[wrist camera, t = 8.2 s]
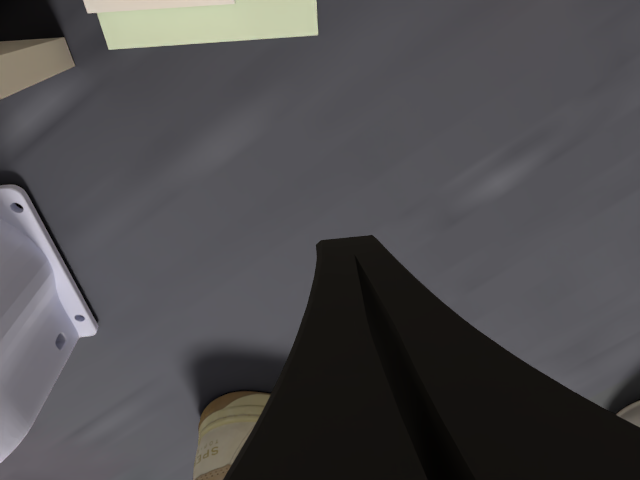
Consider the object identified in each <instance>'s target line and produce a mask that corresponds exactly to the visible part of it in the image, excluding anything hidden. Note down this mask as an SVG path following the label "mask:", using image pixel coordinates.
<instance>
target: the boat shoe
mask: <svg viewBox="0 0 640 480" xmlns="http://www.w3.org/2000/svg"><path fill="white" fill-rule="evenodd" d="M270 395H271V394H269V393H263V392H254V391H238V392H233V393H228V394H225V395H223V396H220V397H219V398H217V399H215V400H214V401H212V402H211V403H210V404H209V405H208V406H207V407H206V408H205V409H204V411H203V413H202V415H201V418H200V423H199V428H198V429H199V440H198V449H197V453H196V458H195V463H194V473H193V480H223V479H224V477H225V475H226V474H227V472H228V470H229V469H230V467H231V465H232V463H233V462H234V460H235V458H236V457H237V455H238V453H239V452H240V450H241V448H242V447H243V445H244V443H245V441H246V440H247V438H248V436H249V435H250V433H251V431H252V429H253V428H254V426H255V424H256V422H257V420H258V418H259V417H260V415H261V413H262V411H263V409H264V407H265V405H266V403H267V401H268V399H269V397H270Z"/></svg>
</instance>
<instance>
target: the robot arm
mask: <svg viewBox="0 0 640 480" xmlns="http://www.w3.org/2000/svg"><path fill="white" fill-rule="evenodd" d="M15 203H18V204H20V205H21V206H22V207H23V209H22V208H19V207H17V206H16V204H15ZM316 251H317V262H316V269H315V275H314V280H313V284H312V288H311V292H310V296H309V300H308V304H307V307H306V310H305V313H304V316H303V319H302V322H301V325H300V328H299V331H298V334H297V336H296V339H295V342H294V344H293V347H292V349H291V352H290V354H289V356H288V359H287V361H286V363H285V365H284V368H283V370H282V372H281V375H280V377H279V379H278V381H277V383H276V385H275V387H274V389H273V391H272V393H271V395H270V397H269V399H268V401H267V403H266V405H265V407H264V409H263V411H262V413H261V415H260V417H259V418H258V420H257V422H256V424H255V426H254V428H253V429H252V431H251V433H250V435H249V436H248V438H247V440H246V441H245V443H244V445H243V447H242V448H241V450H240V452H239V453H238V455H237V457H236V458H235V460H234V462H233V463H232V465H231V467H230V469H229V470H228V472H227V474H226V475H225V477H224V479H223V480H640V427H638V426H636V425H634V424H632V423H630V422H629V421H627V420H625V419H623V418H621V417H619V416H617V415H615V414H613V413H611V412H609V411H608V410H606V409H604V408H602V407H600V406H598V405H597V404H595V403H593V402H591V401H589V400H588V399H586V398H584V397H582V396H581V395H579V394H577V393H575V392H573V391H572V390H570V389H568V388H567V387H565V386H563V385H562V384H560V383H558V382H557V381H555V380H553V379H552V378H550V377H548V376H547V375H545V374H543V373H542V372H540V371H538V370H537V369H535V368H533V367H532V366H530V365H529V364H527V363H525V362H524V361H522V360H521V359H519V358H518V357H516V356H515V355H513V354H512V353H510V352H509V351H507V350H506V349H504V348H503V347H501V346H500V345H498V344H497V343H496V342H494V341H493V340H491V339H490V338H488V337H487V336H486V335H484V334H483V333H481V332H480V331H478V330H477V329H476V328H474V327H473V326H472V325H470V324H469V323H468V322H466V321H465V320H464V319H463V318H461V317H460V316H459V315H458V314H456V313H455V312H454V311H453V310H452V309H450V308H449V307H448V306H447V305H445V304H444V303H443V302H442V301H441V300H440V299H438V298H437V297H436V296H435V295H434V294H433V293H432V292H430V291H429V290H428V289H427V288H426V287H425V286H424V285H423V284H422V283H421V282H420V281H418V280H417V279H416V278H415V277H414V276H413V275H412V274H411V273H410V272H409V271H408V270H407V269H406V268H405V267H404V266H403V265H402V264H401V263H400V262H399V261H398V260H397V259H396V258H395V257H394V256H393V255H392V254H391V253H390V252H389V251H388V250H387V249H386V248H385V247H384V246H383V245H382V244H381V243H380V242H379V241H378V240H377V239H376V238H375V237H374V236H373V235H369V236H359V237H349V238H339V239H329V240H321V241H320V242H319V243H318V244H317V245H316ZM80 315H82V316H80ZM98 328H99V327H98V324H97V322H96V320H95V319H94V317H93V315H92V313H91V311H90V309H89V307H88V306H87V304H86V302H85V300H84V298H83V296H82V294H81V293H80V291H79V289H78V287H77V285H76V283H75V282H74V280H73V278H72V276H71V274H70V272H69V270H68V269H67V267H66V265H65V263H64V261H63V259H62V257H61V256H60V254H59V252H58V250H57V248H56V246H55V244H54V243H53V241H52V239H51V237H50V235H49V233H48V232H47V230H46V228H45V226H44V224H43V222H42V220H41V219H40V217H39V215H38V213H37V211H36V209H35V207H34V206H33V204H32V202H31V200H30V198H29V196H28V194H27V193H26V192H25V190H24V189H22V188H21V187H19V186H17V185H11V184H9V185H0V463H1V462H2V461H3V460H4V459H5V458H6V457H7V456H8V455H9V454H10V453H11V452H12V451H13V450H14V449H15V448H16V447H17V446H18V445H19V444H20V442H21V441H22V440H23V439H24V437H25V436H26V435H27V433H28V432H29V430H30V428H31V427H32V425H33V423H34V421H35V419H36V418H37V416H38V414H39V412H40V410H41V408H42V406H43V404H44V403H45V401H46V399H47V397H48V395H49V393H50V391H51V389H52V388H53V386H54V384H55V382H56V380H57V378H58V376H59V374H60V373H61V371H62V369H63V367H64V365H65V363H66V361H67V360H68V358H69V356H70V354H71V352H72V350H73V348H74V346H75V345H76V343H77V341H78V339H79V337H86V336H92V335H94V334H96V332H97V330H98Z"/></svg>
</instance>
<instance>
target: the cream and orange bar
mask: <svg viewBox="0 0 640 480" xmlns="http://www.w3.org/2000/svg"><path fill="white" fill-rule="evenodd" d="M83 1H84V4H85V7H86V10H87V13H101V12H116V11H132V10H147V9H163V8H179V7H194V6H210V5H225V4H235V3H236V0H83Z"/></svg>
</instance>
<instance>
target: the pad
mask: <svg viewBox="0 0 640 480" xmlns="http://www.w3.org/2000/svg"><path fill="white" fill-rule="evenodd" d="M97 15H98V18H99V21H100V24H101V27H102V30H103V33H104V36H105V39H106V42H107V46H108V49H109V50H111V49H126V48H140V47H154V46H169V45H183V44H197V43H212V42H226V41H240V40H255V39H269V38H284V37H298V36H312V35H318V23H317V2H316V0H236V3H235V4H225V5H210V6H194V7H179V8H163V9H147V10H132V11H116V12H101V13H97Z"/></svg>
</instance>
